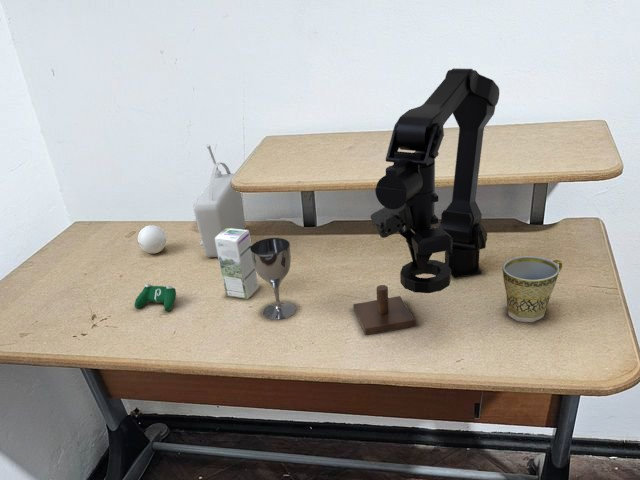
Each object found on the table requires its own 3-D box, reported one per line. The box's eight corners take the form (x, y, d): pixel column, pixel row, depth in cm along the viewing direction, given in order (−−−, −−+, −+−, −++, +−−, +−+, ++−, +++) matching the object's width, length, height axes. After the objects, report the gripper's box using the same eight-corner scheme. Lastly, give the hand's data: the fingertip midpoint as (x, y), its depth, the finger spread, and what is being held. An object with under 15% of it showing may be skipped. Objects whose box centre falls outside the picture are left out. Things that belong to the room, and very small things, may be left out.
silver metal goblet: (293, 321, 129) (284, 255, 121) (256, 320, 131) (245, 255, 123) (301, 301, 136) (293, 237, 128) (266, 301, 138) (256, 237, 129)
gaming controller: (176, 314, 140) (181, 288, 141) (168, 310, 137) (173, 283, 138) (141, 311, 143) (146, 286, 144) (132, 306, 140) (137, 281, 141)
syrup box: (259, 287, 143) (250, 228, 135) (247, 300, 139) (236, 239, 131) (238, 284, 146) (227, 226, 138) (225, 297, 141) (213, 237, 133)
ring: (438, 266, 122) (439, 255, 120) (458, 287, 114) (458, 276, 113) (394, 275, 120) (394, 264, 119) (411, 297, 113) (410, 286, 112)
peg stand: (400, 302, 131) (399, 272, 128) (415, 326, 123) (414, 295, 119) (353, 310, 131) (351, 280, 127) (365, 335, 122) (363, 304, 118)
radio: (219, 227, 176) (202, 136, 162) (248, 225, 174) (233, 134, 161) (197, 262, 158) (176, 164, 144) (229, 261, 156) (211, 162, 143)
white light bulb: (173, 245, 168) (167, 219, 164) (164, 257, 162) (157, 231, 158) (138, 246, 170) (131, 221, 166) (127, 259, 164) (120, 233, 160)
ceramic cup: (524, 333, 117) (529, 285, 112) (488, 311, 125) (491, 265, 119) (576, 311, 122) (583, 264, 116) (538, 291, 129) (543, 246, 124)
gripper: (360, 179, 118) (364, 255, 127) (389, 215, 103) (392, 298, 111) (417, 170, 119) (417, 245, 128) (454, 203, 104) (452, 287, 112)
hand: (418, 267), depth 120 cm, fingers closed on ring, 2 cm apart
